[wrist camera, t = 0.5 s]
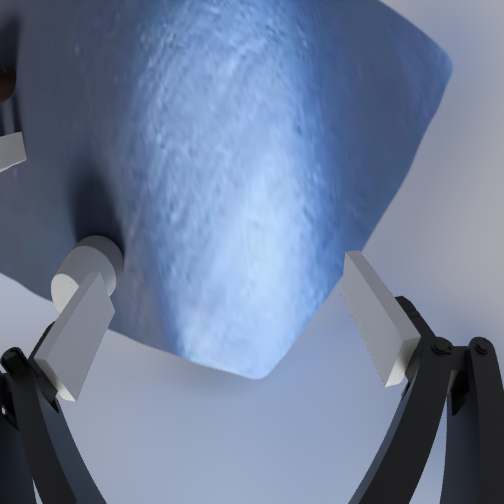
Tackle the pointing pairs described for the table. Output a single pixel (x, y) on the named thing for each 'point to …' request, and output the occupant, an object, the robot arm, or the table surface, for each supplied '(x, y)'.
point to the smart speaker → (87, 268)
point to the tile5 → (11, 150)
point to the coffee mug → (6, 82)
